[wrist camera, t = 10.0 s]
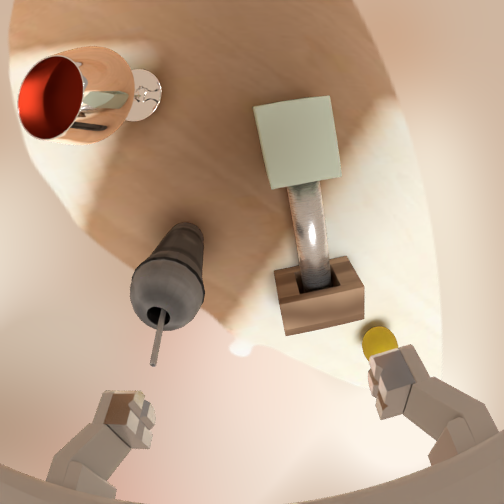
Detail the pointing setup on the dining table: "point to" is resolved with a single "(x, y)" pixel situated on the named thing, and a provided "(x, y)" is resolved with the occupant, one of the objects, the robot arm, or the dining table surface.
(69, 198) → the dining table surface
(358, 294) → the socket
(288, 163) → the sage green block
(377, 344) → the lemon
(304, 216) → the tube
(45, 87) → the wineglass
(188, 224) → the beverage cup
